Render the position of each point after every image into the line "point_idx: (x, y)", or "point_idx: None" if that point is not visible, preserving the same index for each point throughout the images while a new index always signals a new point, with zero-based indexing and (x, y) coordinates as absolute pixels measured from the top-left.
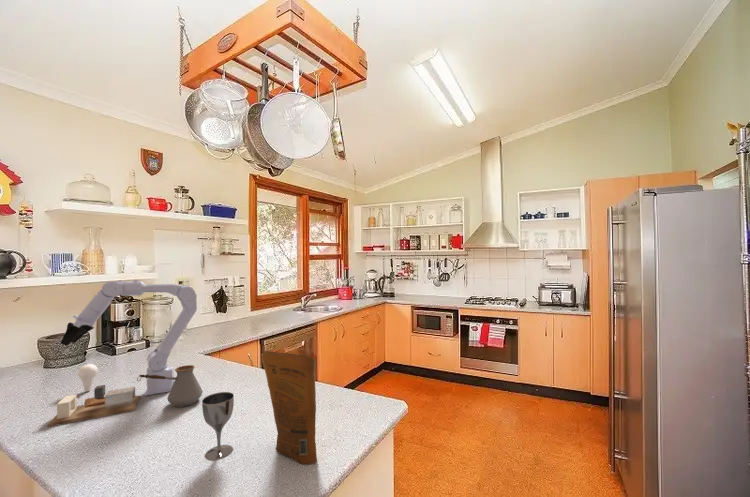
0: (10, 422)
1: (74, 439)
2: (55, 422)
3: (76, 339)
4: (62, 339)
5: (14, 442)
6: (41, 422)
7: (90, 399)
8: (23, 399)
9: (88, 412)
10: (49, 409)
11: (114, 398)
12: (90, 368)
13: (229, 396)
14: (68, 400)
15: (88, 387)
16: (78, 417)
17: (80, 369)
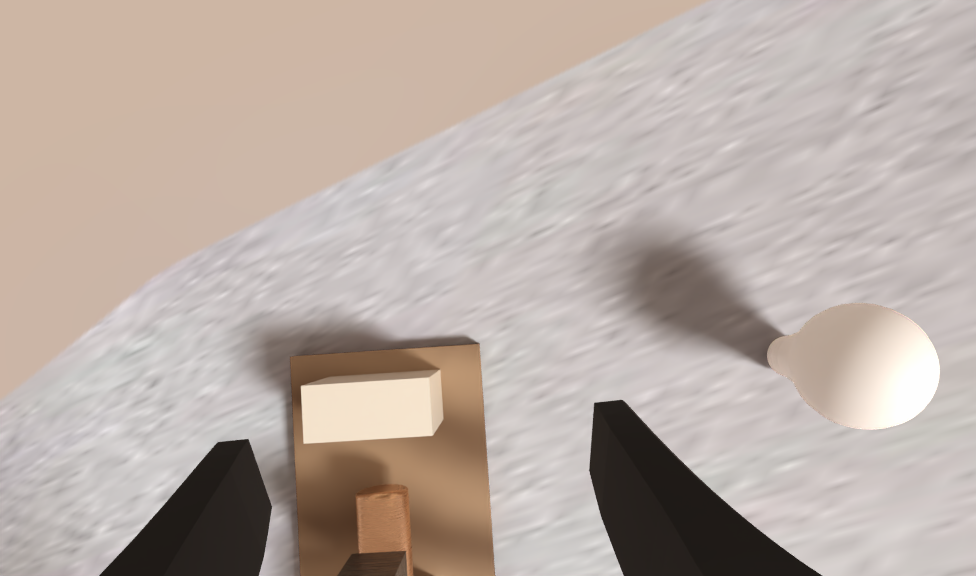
0: (439, 147)
1: (85, 537)
2: (291, 385)
3: (607, 521)
4: (175, 492)
5: (179, 286)
6: (368, 298)
7: (364, 527)
8: (792, 34)
9: (350, 505)
10: (546, 257)
11: None
12: (842, 401)
13: None
14: (336, 428)
15: (776, 366)
16: (301, 477)
17: (848, 326)
